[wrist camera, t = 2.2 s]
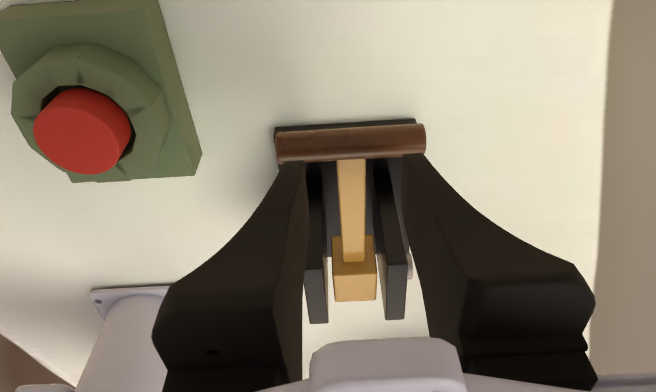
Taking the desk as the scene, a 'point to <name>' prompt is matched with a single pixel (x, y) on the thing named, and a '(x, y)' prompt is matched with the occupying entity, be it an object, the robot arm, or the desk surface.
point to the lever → (352, 191)
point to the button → (82, 131)
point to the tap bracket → (379, 222)
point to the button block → (104, 78)
